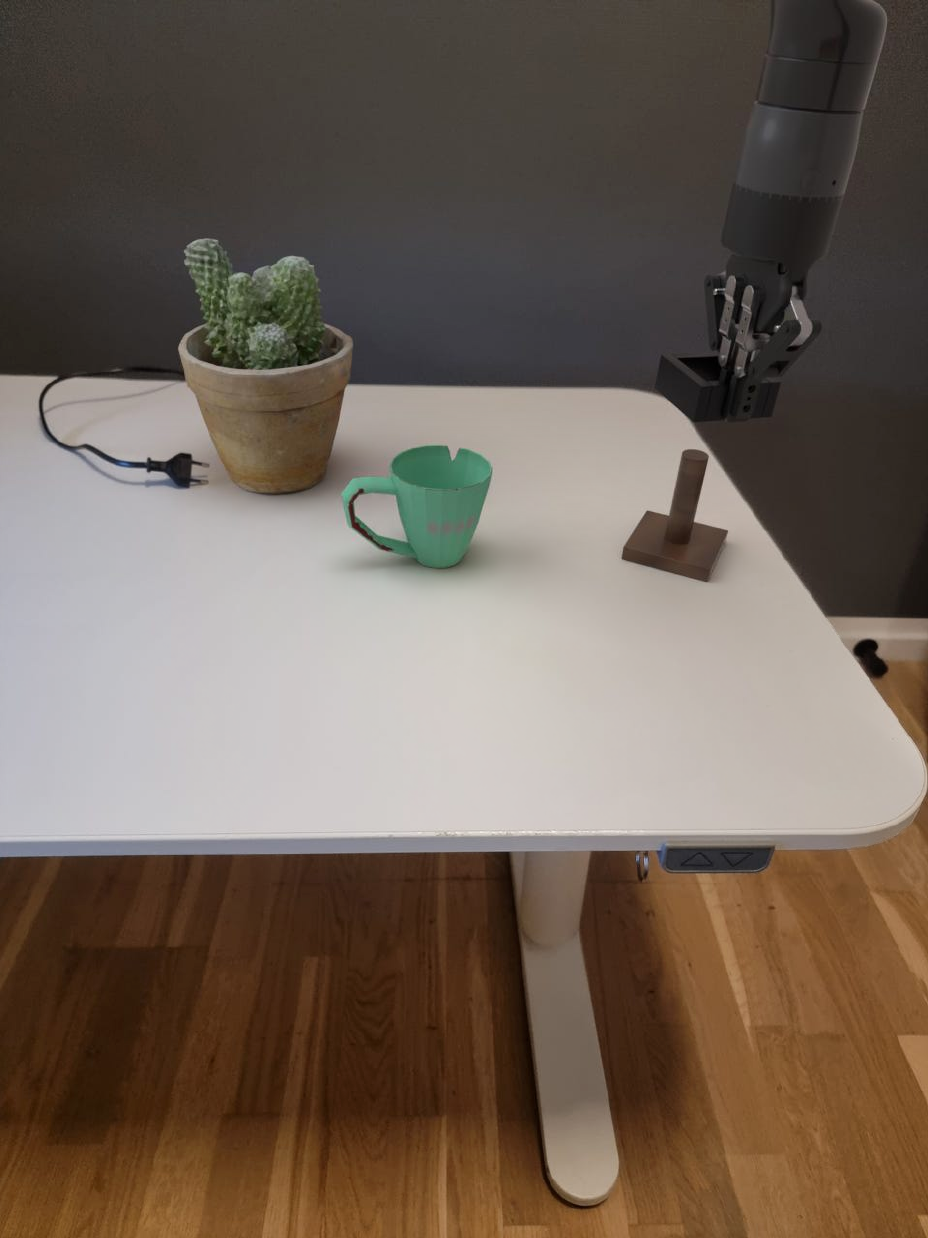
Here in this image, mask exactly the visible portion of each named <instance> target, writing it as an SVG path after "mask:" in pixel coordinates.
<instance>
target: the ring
mask: <svg viewBox="0 0 928 1238" xmlns="http://www.w3.org/2000/svg"><path fill="white" fill-rule="evenodd" d="M718 357H719V353H718V351H709V352H689V353H687V352H686V353H665V354H664V353H663V354H661V355H660V358H659V364H658V369H657V372H656V373H657V374H656V379H655V384H654V385H655V386H654V390H656V391H657V392H658V393H659V394H660V395H662V396H663V398H665V399H666V400H667V401H668V402H670V403H671V404H672V406H674V407H675V408H676V409H677V410H679V411H680V413H682V414H683V415H684V416H685V417H687V419H689V420H690V421H692V423H705V422H721V421H727V420H726V419H724V417H723V413H724V409H725V405H726V401H727V396H728V392H729V388H730V382H731V380H727V381H719V377H720V373H721V369H722V366H720V365H719V362H718ZM781 385H782V382H781V381H780V380H779V379H778V378H777V377H769V378H764V379H763V380H762V382H761V385H760V389H759V393H758V396H757V400H756V404H755V408H754V411H753V413H752V415H751V417H750V419H751V420H752V419H761V418H762V419H764V418H765V419H766V418H772V417H773V414H774V411H775V406H776V403H777V399H778V397H779V392H780V389H781ZM750 419H749V420H750Z"/></svg>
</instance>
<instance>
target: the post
mask: <svg viewBox="0 0 928 1238" xmlns="http://www.w3.org/2000/svg"><path fill="white" fill-rule="evenodd" d="M709 457H710V456H709V454H708V453H707V452H705V451H703V450H700V449H694V448H688V449H684V450H683V451H682V452H681V456H680V461H679V464H678V465H679V466H678V471H677V474H676V480H675V485H674V489H673V495H672V498H671V503H670V507H669V513H668V515H667V514H664V513H660V512H655V511H652V510H648V509H647V510H646V511H645V512H644V514H643V516H642V517H641V519H640V520H639V522H638V524H637V525H636V527H635V528H634V530H633V531H632V533H631V534H630V535H629V537H628V539H627V540H626V542H625V544H624V545H623V548H622V553H621V559H622V560H625V561H629V562H631V563H632V562H633V563H635V564H639V565H643V566H647V567H650V568H654V569H658V570H662V571H665V572H670V573H672V574H676V575H680V576H684V577H688V578H692V579H695V580H700V581H703V582H707V583H708V582H709V580H710V578H711V575H712V573H713V571H714V569H715V566H716V565H717V562H718V560H719V558H720V555H721V554H722V551H723V549H724V546H725V544H726V541H727V537H728V534H729V530H728V529H725V528H721V527H720V528H719V527H716V526H712V525H708V524H703V523H700V522H696V521H695V519H696V515H697V510H698V506H699V502H700V497H701V494H702V488H703V483H704V479H705V476H706V471H707V466H708V462H709Z"/></svg>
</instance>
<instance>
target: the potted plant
mask: <svg viewBox="0 0 928 1238" xmlns="http://www.w3.org/2000/svg"><path fill="white" fill-rule="evenodd" d="M183 253H184V254H185V257H186V258H185V259H184V261H183V264H184V266H186V267H187V268H189V270H188V271H189V272H188V274H189V276H190V278H191V279H192V280H193V282H194V283H195V288H196V289H195V290H194V291H195V293H197V294H198V295H199V301H200V302H201V307H200V311H202V312H203V313H204V316H203V317H202V320H204V321H205V324H201V325H199V326H197V327H195V328H193V329H192V330H190V331H188V332H187V333H185V334H184V335H183V337H182V338H181V340H180V342H179V343H178V347H177V349H178V354H179V358H180V361H181V365H182V368H183V372H184V378H185V383H186V386H187V388H189V389H190V390H191V391H192V393H193V394H194V396H195V398H196V401H197V404H198V407H199V411H200V412H201V415H202V419H203V421H204V424H205V426H206V429H207V431H208V434H209V437H210V440H211V441H212V444H213V446H214V449H215V450H216V453H217V456H218V457H219V459H220V461H221V463H222V465H223V466H224V468H225V471H226V473H227V475H228V477H229V478H230V480H231V481H232V482H234V484H235V485H236V486H238V487H239V488H241V489H242V490H244V491H247V492H250V493H256V494H257V493H259V494H273V495H279V494H287V493H297V492H301V491H304V490H308V489H310V488H313V487H314V486H316V485H317V484H319V483H321V482H322V481H323V479H324V478H325V475H326V474H327V470H328V464H329V461H330V458H331V456H332V455H331V454H332V451H333V447H334V442H335V438H336V434H337V431H338V427H339V422H340V417H341V411H342V406H343V403H344V397H345V391H346V388H347V386H348V383H349V382H350V379H351V369H352V362H353V348H354V343H353V339H352V337H351V336H350V335H348V334H346V333H344V332H343V331H342V330H341V329H339V328H337V327H335V326H332V325H330V324H327V323H324V322H323V319H322V316H320V311H321V310H322V308H323V306H322V305H320V304H321V303H320V302H321V298H319V297H318V295H319V294H320V293H321V292H322V291H321V289H320V288H319V285H318V283H319V281H320V278H318V277H317V276H316V272H315V265H314V264H310V261H309V260H308V259H307V258H305V256H304V257H303V256H295V255H289V256H284V257H282V258H280V259H279V260H278V261H277V262H276V263H275V264H273V265H265V266H262V267H259V268H257V269H256V270H254V271H253V274H252V276H251V275H250V274H248V273H246V272H242V271H241V272H235V271H234V270H233V264H232V263H231V261H230V258H229V257H228V256H227V254H228V251H227V250H224V249H223V247H222V246H221V245H219V240H218V239H214V238H200V239H196V240H194V241H192V242H191V243H189V244H188V245H187V246H186V248H185V249H184V250H183Z"/></svg>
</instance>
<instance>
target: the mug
mask: <svg viewBox="0 0 928 1238" xmlns="http://www.w3.org/2000/svg"><path fill="white" fill-rule="evenodd" d="M389 476H390V477H381V476H363V477H362V476H360V477H353V478H352V479H351V480H350V481H349V483H348V485H346V487H344V489H343V490H342V492H341V493H340V495H341V500H342V505H343V509H344V514H345V518H346V519H345V520H346V525H347V526H348V528H350V529H351V530H352V531H354V532H355V533H357V534H358V535H359V536H360V537H362V538H363V539H365V540H366V541H367V542H369V544H371V545H373V546H374V547H375V548H376V549H378V550H379V551H384V552H387V553H392V554H397V555H400V556H406V557H408V558H412V559H413V558H414V559H415V560H416V561H417V562H418V563H419V564H421V565H422V566H425V567H429V568H433V569H448V568H451V567H454V566H455V565H457V564H459V563H460V562H461V561H462V559H463V557H464V555H465V554H466V551H467V550H468V548H469V546H470V545H471V542H472V540H473V537H474V535H475V532H476V529H477V527H478V525H479V522H480V519H481V516H482V512H483V508H484V504H485V501H486V498H487V495H488V493H489V489H490V485H491V481H492V476H493V466H492V464H491V461H489V460H488V459H487V458H486V457H484V456H483V455H482V454H481V453H479V452H477V451H474V450H472V449H469V448H464V447H459V448H458V450H457V452H456V454H455V457H454V459H452V457H451V451H450V449H449V446H448V445H447V444H428V445H427V444H426V445H420V446H416V447H415V446H414V447H411V448H409V449H405V450H403V451H400V452H399V453H398V454H396V455H395V456H394V457H393V458H392V459H391V462H390V464H389ZM368 494H380V495H381V494H382V495H390V496H395V498H396V504H397V510H398V515H399V519H400V522H401V526H402V529H403V531H404V534H405V537H406V539H407V541H404V540H400V539H396V538H391V537H387V536H384V535H379V534H377V533H376V531H374V530H372V529H371V528H370V527H369V526H368V525H367V524H366V523H365V522H364V521H362V520H361V519H360V518H359V517H357V516H356V511H355V501H356V499H357V498H358V497H359V496H361V495H368Z"/></svg>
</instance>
